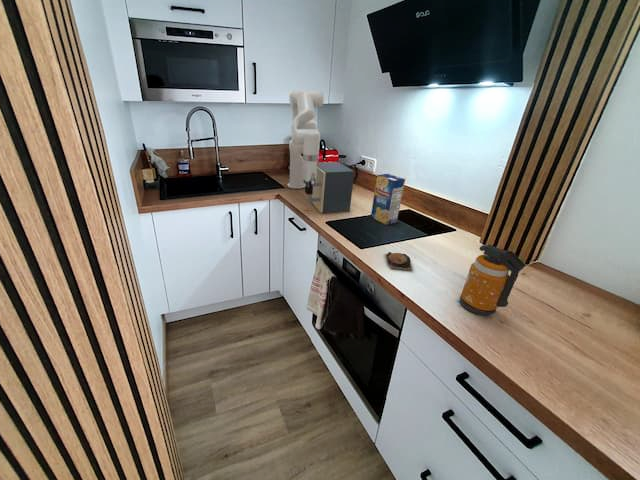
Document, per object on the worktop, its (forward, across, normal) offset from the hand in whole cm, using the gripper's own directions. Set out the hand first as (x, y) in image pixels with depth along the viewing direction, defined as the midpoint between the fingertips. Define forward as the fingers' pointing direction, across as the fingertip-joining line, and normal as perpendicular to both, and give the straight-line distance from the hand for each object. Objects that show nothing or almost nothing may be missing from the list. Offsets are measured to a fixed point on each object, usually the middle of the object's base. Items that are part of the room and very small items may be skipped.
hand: (308, 193), depth 147 cm
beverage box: (+11, +16, +35) cm, 40 cm away
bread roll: (+11, +54, +20) cm, 59 cm away
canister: (+11, +81, +30) cm, 87 cm away
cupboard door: (+10, -8, +4) cm, 14 cm away
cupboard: (+11, -8, +15) cm, 20 cm away
